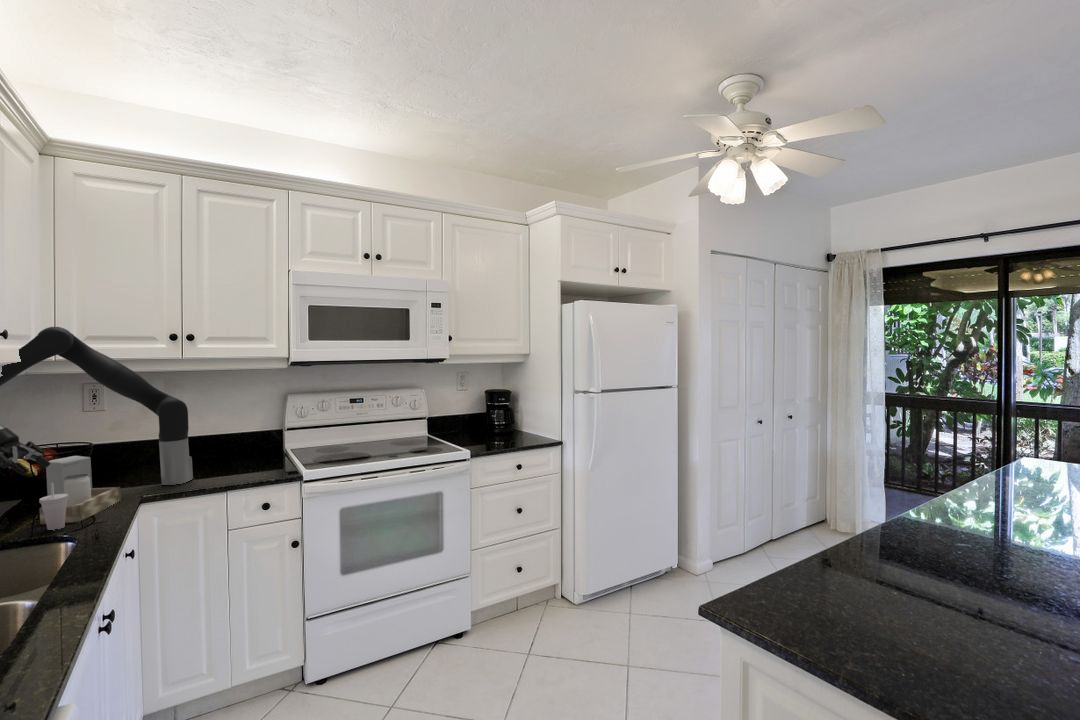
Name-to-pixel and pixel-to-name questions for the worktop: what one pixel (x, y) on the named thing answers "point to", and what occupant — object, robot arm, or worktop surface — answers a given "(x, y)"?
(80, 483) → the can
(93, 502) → the crate
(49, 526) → the smoothie
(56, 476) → the supplement box
